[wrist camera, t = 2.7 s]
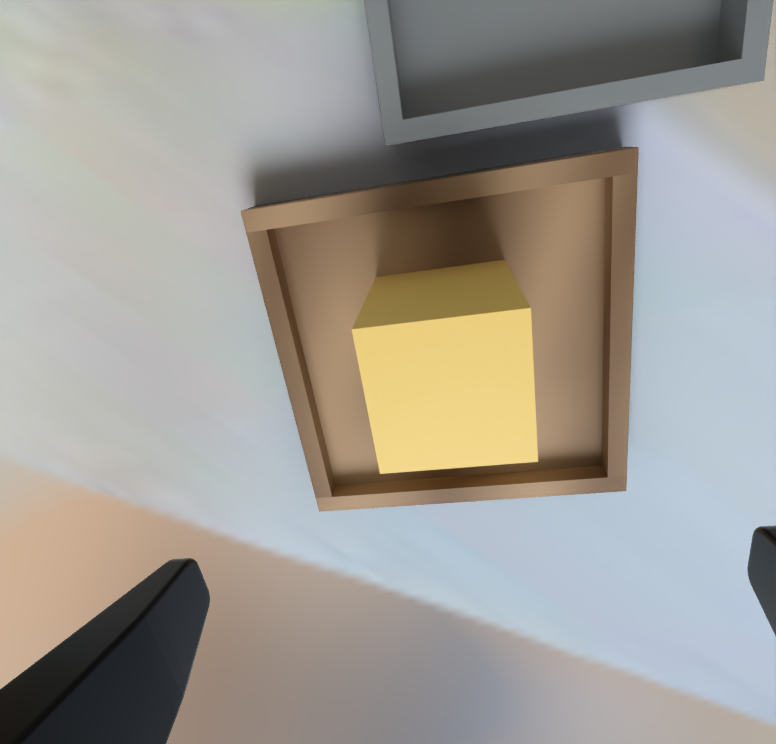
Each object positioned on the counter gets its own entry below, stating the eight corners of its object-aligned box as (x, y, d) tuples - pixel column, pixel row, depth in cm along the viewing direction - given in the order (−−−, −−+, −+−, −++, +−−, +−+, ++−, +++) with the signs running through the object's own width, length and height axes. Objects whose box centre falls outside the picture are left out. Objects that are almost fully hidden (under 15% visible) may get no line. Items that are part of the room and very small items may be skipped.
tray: (623, 147, 16) (638, 147, 15) (614, 469, 21) (626, 490, 20) (254, 206, 18) (240, 211, 17) (326, 491, 23) (319, 511, 22)
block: (504, 259, 17) (530, 307, 12) (512, 378, 19) (538, 461, 14) (375, 277, 18) (351, 329, 13) (394, 390, 20) (380, 474, 15)
